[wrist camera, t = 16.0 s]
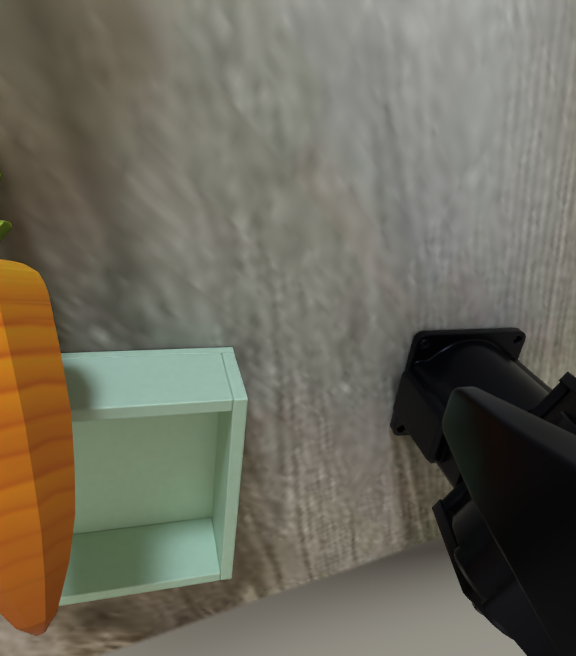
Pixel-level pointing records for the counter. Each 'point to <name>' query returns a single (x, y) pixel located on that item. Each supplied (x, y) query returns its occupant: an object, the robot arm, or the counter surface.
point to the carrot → (32, 452)
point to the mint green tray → (153, 469)
